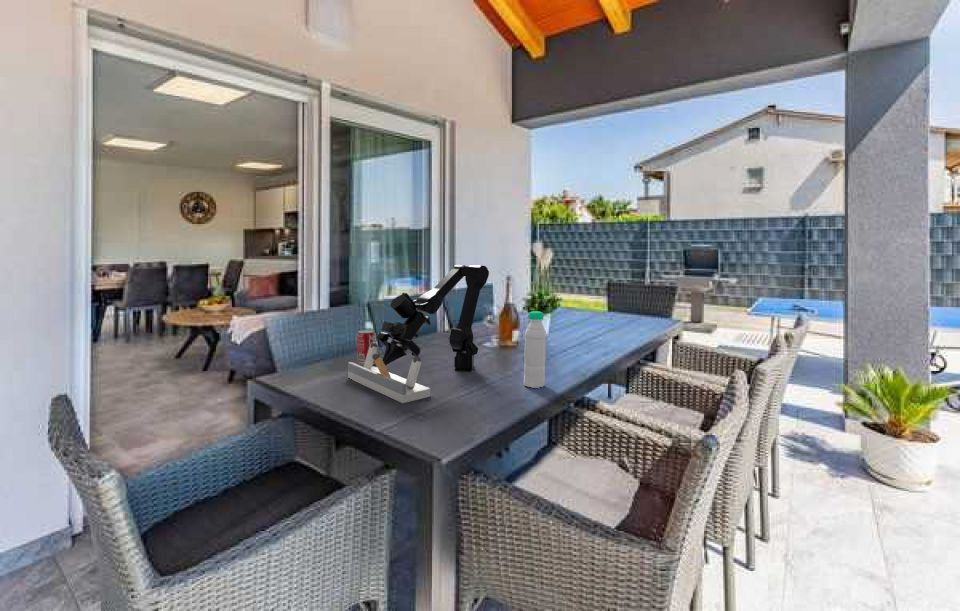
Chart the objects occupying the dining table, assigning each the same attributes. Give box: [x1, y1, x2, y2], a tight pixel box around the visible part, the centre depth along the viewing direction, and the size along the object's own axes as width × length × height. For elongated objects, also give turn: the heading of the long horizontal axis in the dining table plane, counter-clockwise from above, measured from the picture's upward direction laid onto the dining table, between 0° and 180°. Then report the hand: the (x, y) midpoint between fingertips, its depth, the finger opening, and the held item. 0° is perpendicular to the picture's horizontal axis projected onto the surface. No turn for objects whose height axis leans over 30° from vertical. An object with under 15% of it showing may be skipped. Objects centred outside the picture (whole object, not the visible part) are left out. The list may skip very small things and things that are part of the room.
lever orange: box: [373, 352, 391, 378], centre depth 158 cm, size 2×3×10 cm
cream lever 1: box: [362, 342, 378, 370], centre depth 170 cm, size 2×3×10 cm
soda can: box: [356, 329, 377, 367], centre depth 187 cm, size 7×7×13 cm
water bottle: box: [523, 310, 547, 387], centre depth 161 cm, size 7×7×25 cm
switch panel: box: [347, 361, 431, 404], centre depth 160 cm, size 10×34×6 cm, turn 42°
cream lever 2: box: [405, 355, 422, 390], centre depth 151 cm, size 2×3×10 cm
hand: (382, 364), depth 158 cm, fingers closed, pressing on lever orange
